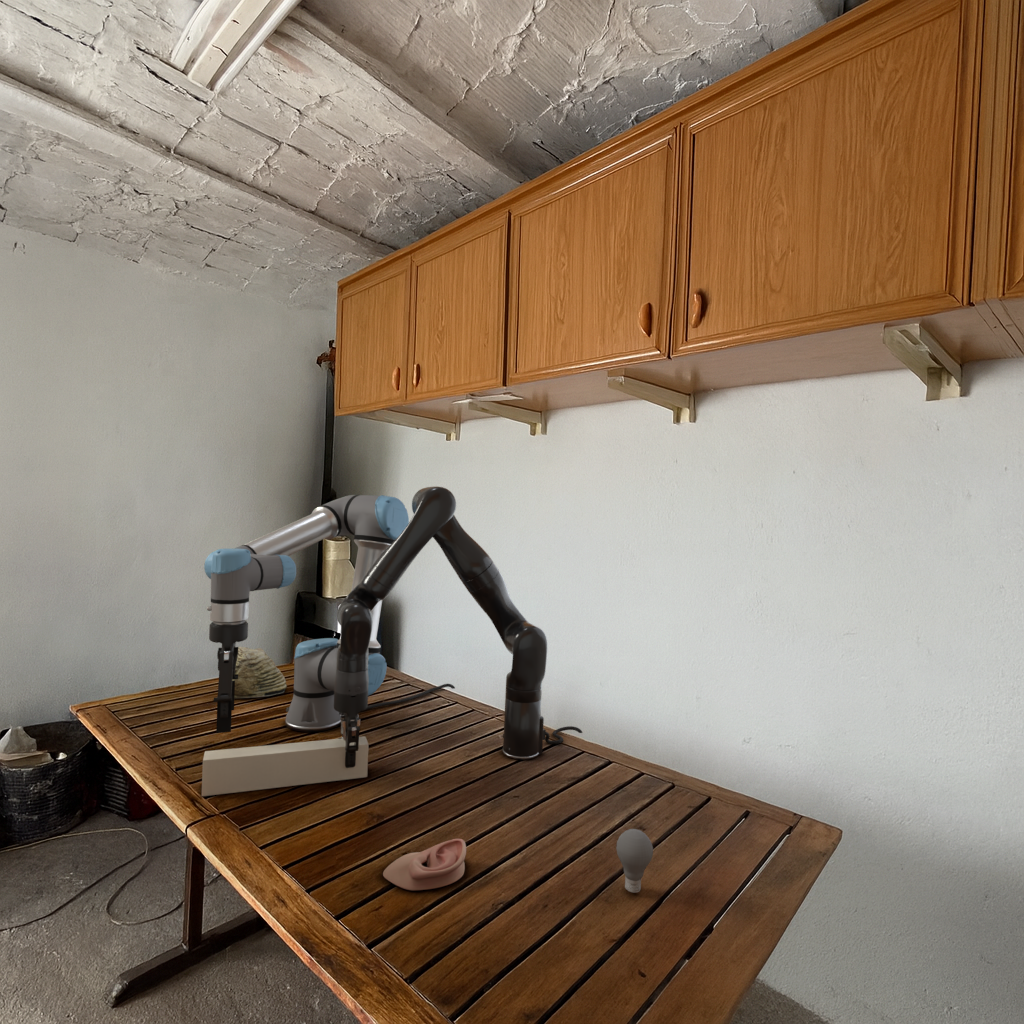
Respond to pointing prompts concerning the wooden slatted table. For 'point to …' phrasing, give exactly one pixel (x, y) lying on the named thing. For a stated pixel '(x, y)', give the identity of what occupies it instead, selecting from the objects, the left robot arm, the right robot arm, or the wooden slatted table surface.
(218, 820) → the wooden slatted table surface
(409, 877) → the anatomical model
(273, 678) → the fossil
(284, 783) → the beam
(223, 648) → the left robot arm
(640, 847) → the light bulb
